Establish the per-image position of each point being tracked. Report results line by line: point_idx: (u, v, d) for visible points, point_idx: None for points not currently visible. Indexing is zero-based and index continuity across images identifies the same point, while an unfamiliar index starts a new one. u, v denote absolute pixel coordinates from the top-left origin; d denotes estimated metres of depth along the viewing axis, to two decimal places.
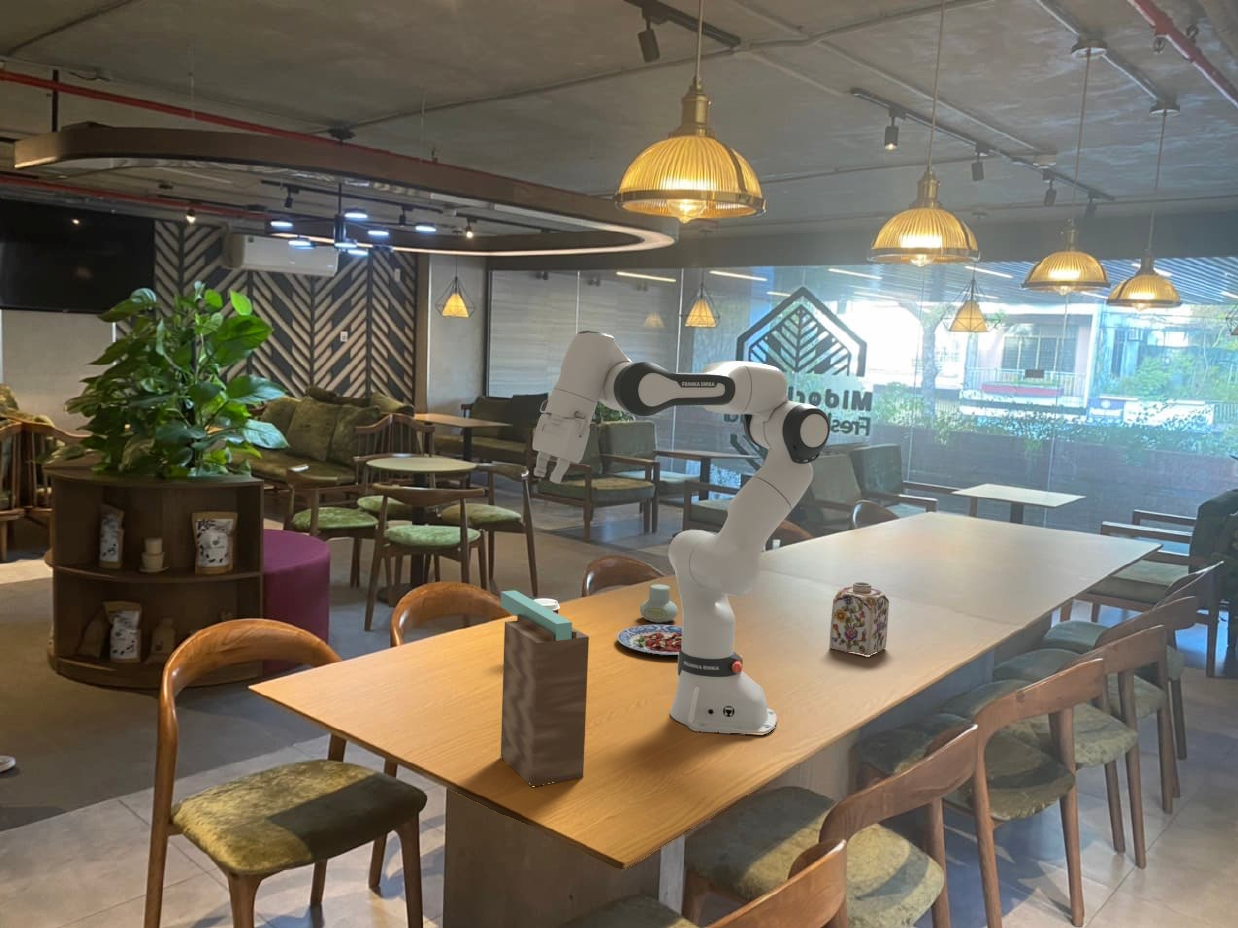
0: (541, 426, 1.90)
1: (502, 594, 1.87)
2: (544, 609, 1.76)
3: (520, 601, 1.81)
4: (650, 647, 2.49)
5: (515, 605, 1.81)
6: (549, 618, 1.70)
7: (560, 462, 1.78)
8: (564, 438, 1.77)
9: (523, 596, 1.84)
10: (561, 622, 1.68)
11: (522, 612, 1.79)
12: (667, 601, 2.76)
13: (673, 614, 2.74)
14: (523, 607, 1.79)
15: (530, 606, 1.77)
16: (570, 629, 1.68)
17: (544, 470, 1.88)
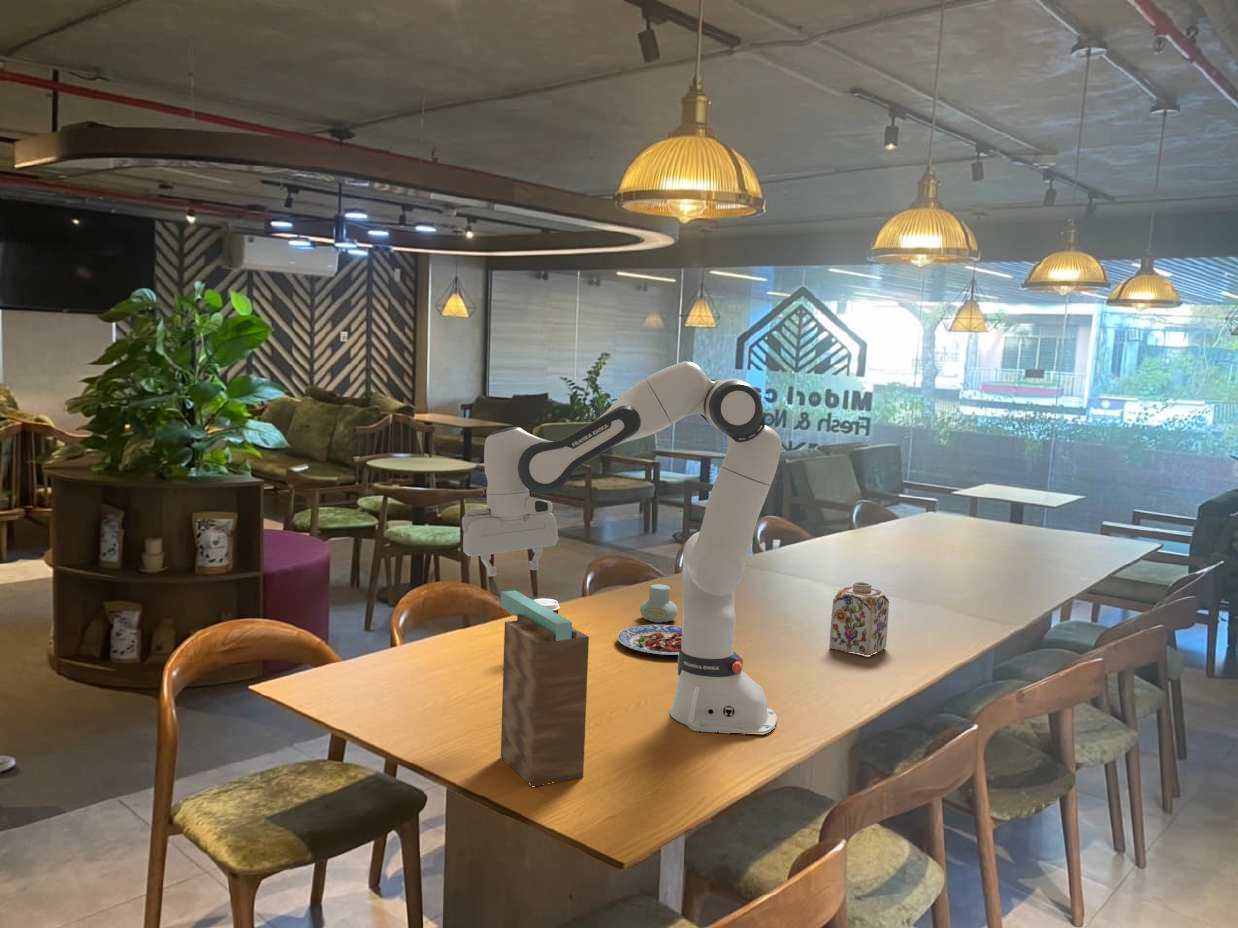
0: None
1: (502, 594, 1.87)
2: (544, 609, 1.76)
3: (520, 601, 1.81)
4: (650, 647, 2.49)
5: (515, 605, 1.81)
6: (549, 618, 1.70)
7: (481, 558, 1.97)
8: None
9: (523, 596, 1.84)
10: (561, 622, 1.68)
11: (522, 612, 1.79)
12: (667, 601, 2.76)
13: (673, 614, 2.74)
14: (523, 607, 1.79)
15: (530, 606, 1.77)
16: (570, 629, 1.68)
17: (531, 563, 2.02)
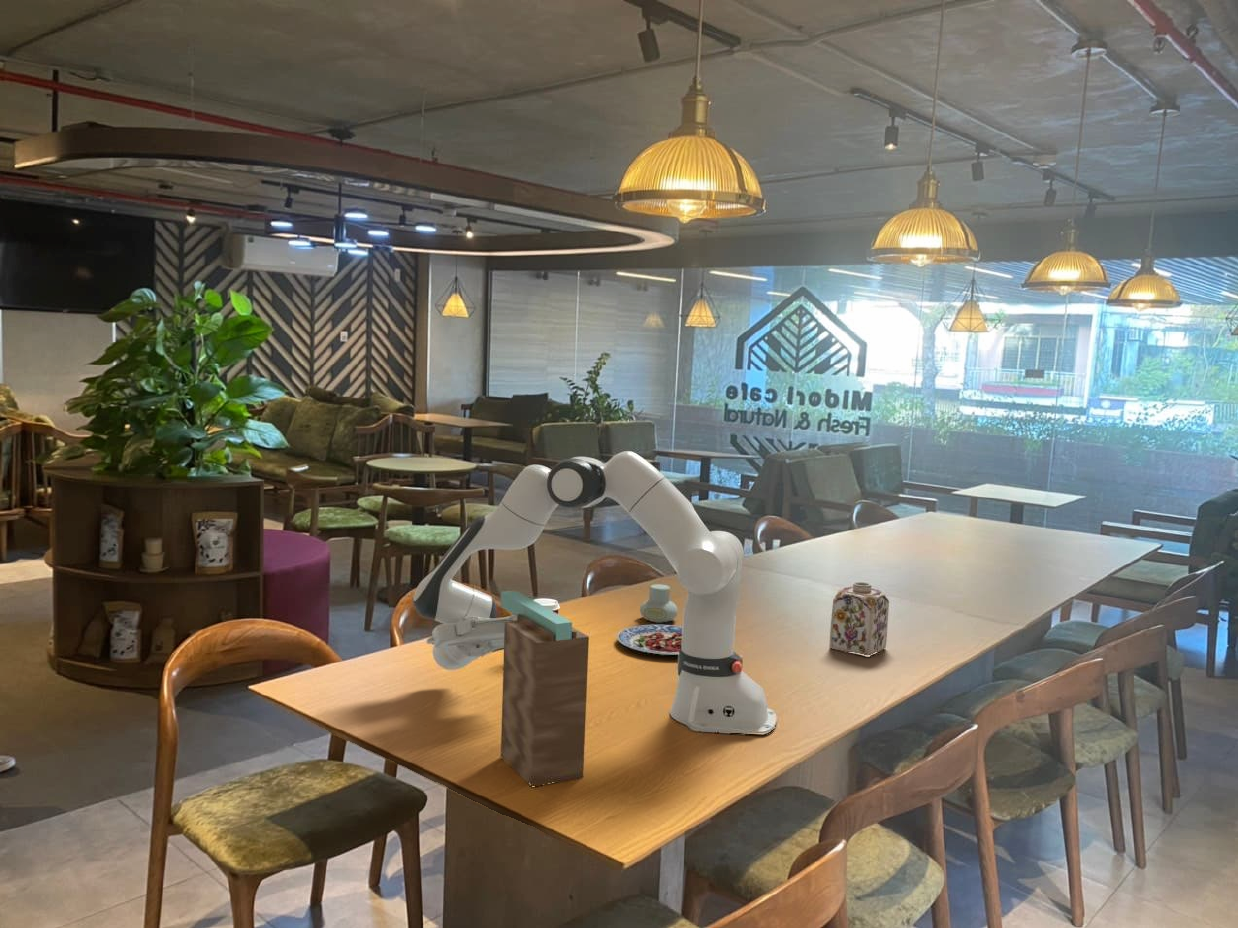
0: None
1: (502, 594, 1.87)
2: (544, 609, 1.76)
3: (520, 601, 1.81)
4: (650, 647, 2.49)
5: (515, 605, 1.81)
6: (549, 618, 1.70)
7: (457, 633, 1.94)
8: (449, 643, 1.97)
9: (523, 596, 1.84)
10: (561, 622, 1.68)
11: (522, 612, 1.79)
12: (667, 601, 2.76)
13: (673, 614, 2.74)
14: (523, 607, 1.79)
15: (530, 606, 1.77)
16: (570, 629, 1.68)
17: (509, 619, 1.98)
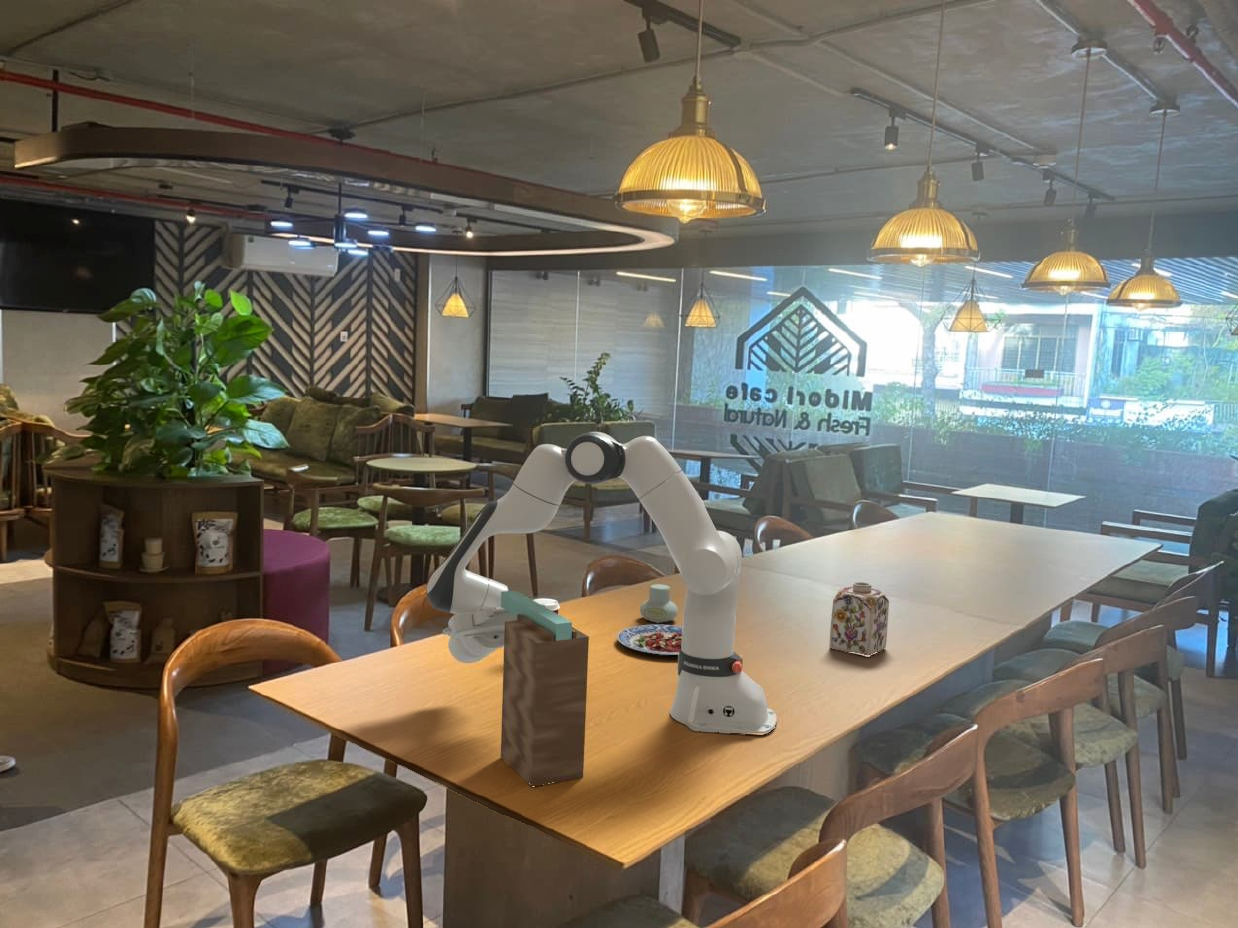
0: None
1: (502, 594, 1.87)
2: (544, 609, 1.76)
3: (520, 601, 1.81)
4: (650, 647, 2.49)
5: (515, 605, 1.81)
6: (549, 618, 1.70)
7: (475, 623, 1.86)
8: (466, 634, 1.89)
9: (523, 596, 1.84)
10: (561, 622, 1.68)
11: (522, 612, 1.79)
12: (667, 601, 2.76)
13: (673, 614, 2.74)
14: (523, 607, 1.79)
15: (530, 606, 1.77)
16: (570, 629, 1.68)
17: None
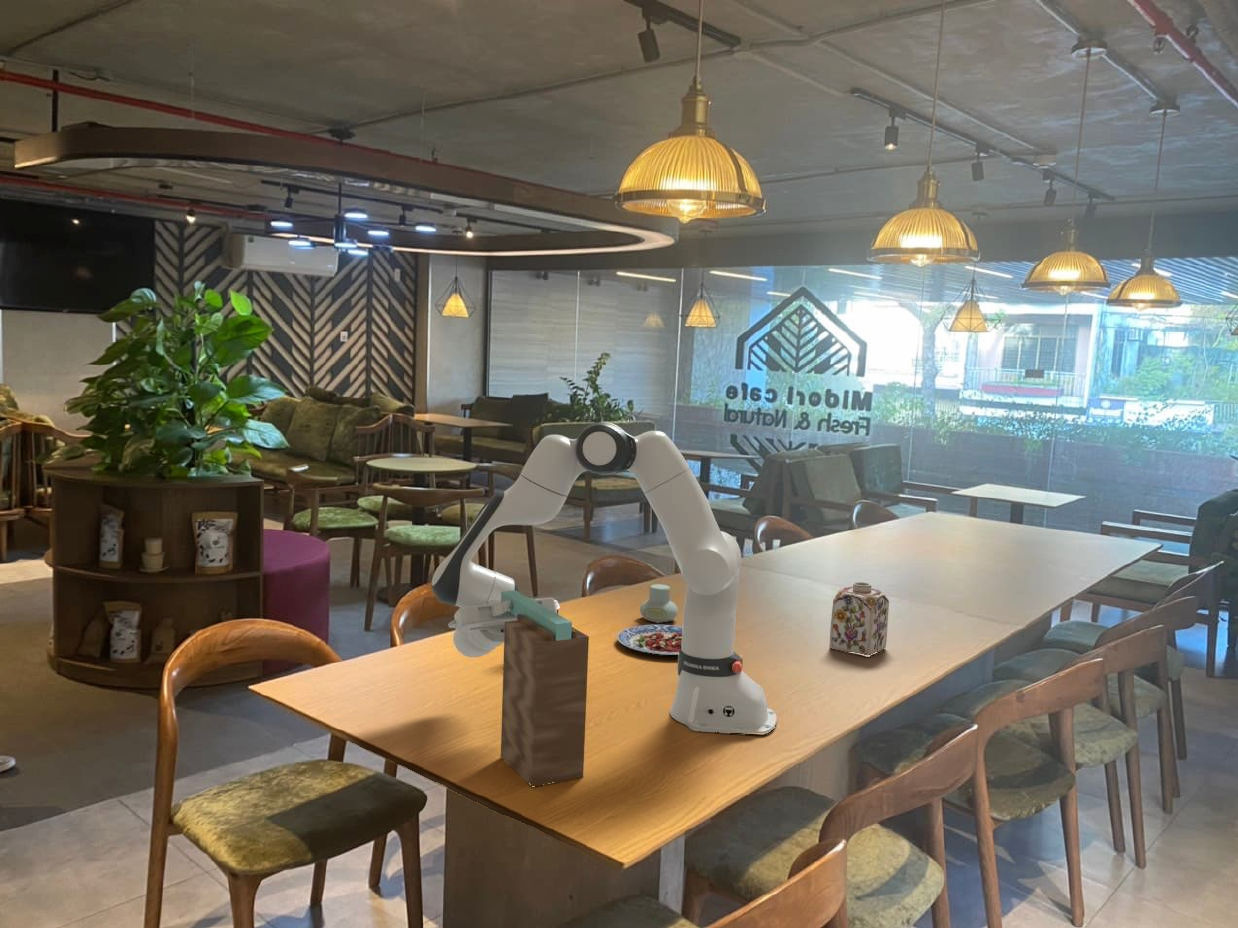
0: None
1: (502, 594, 1.87)
2: (544, 609, 1.76)
3: (520, 601, 1.81)
4: (650, 647, 2.49)
5: (515, 605, 1.81)
6: (549, 618, 1.70)
7: (494, 614, 1.84)
8: (472, 627, 1.86)
9: (523, 596, 1.84)
10: (561, 622, 1.68)
11: (522, 612, 1.79)
12: (667, 601, 2.76)
13: (673, 614, 2.74)
14: (523, 607, 1.79)
15: (530, 606, 1.77)
16: (570, 629, 1.68)
17: None
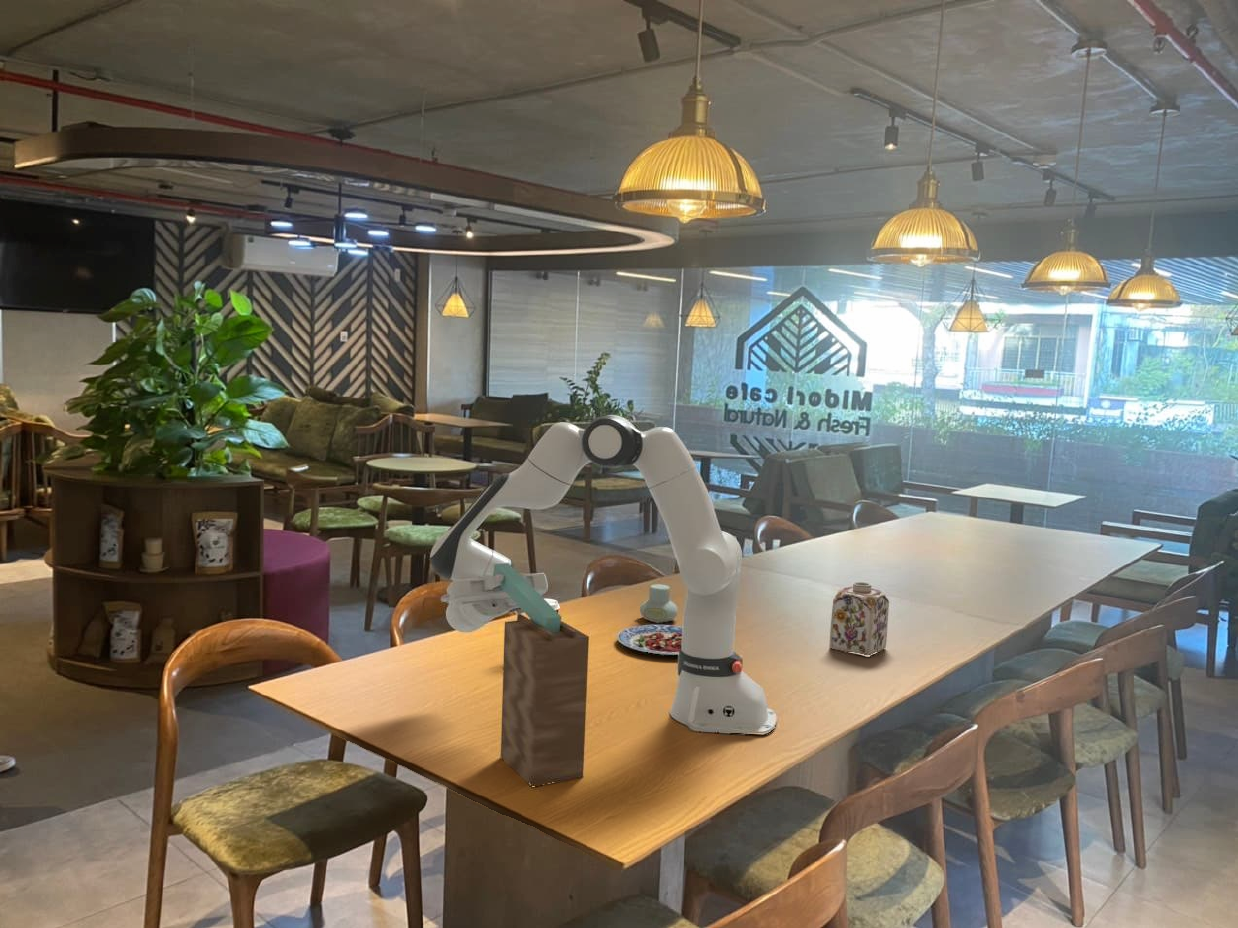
0: None
1: (495, 567, 1.89)
2: (535, 595, 1.79)
3: (512, 580, 1.83)
4: (650, 647, 2.49)
5: (507, 583, 1.84)
6: (539, 609, 1.73)
7: (486, 588, 1.87)
8: (464, 601, 1.89)
9: (515, 573, 1.87)
10: (551, 616, 1.71)
11: (514, 593, 1.82)
12: (667, 601, 2.76)
13: (673, 614, 2.74)
14: (514, 588, 1.82)
15: (522, 589, 1.80)
16: (559, 623, 1.72)
17: None
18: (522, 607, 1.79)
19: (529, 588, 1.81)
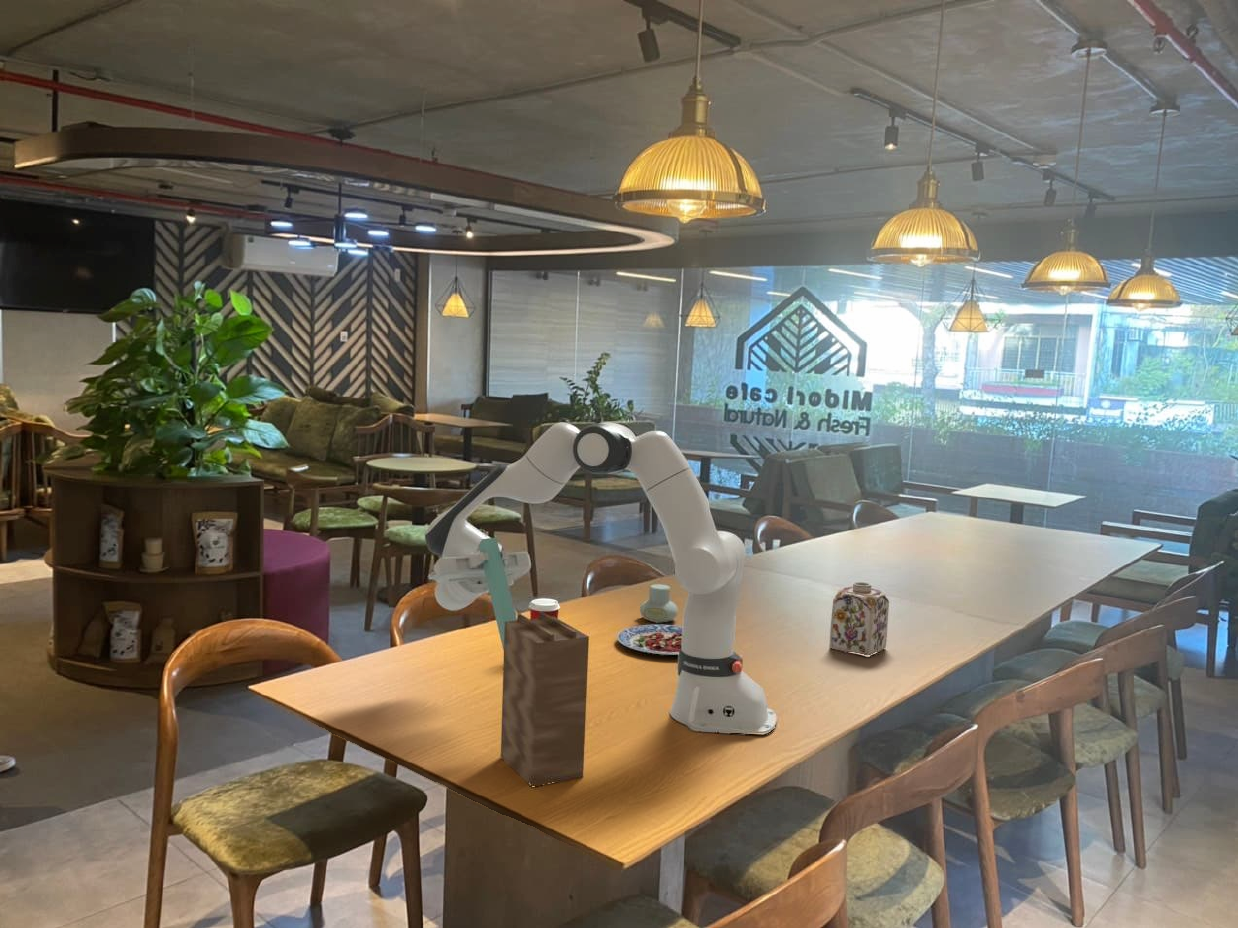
0: (513, 574, 2.06)
1: (482, 542, 1.97)
2: (509, 604, 1.91)
3: (493, 574, 1.93)
4: (650, 647, 2.49)
5: (488, 571, 1.94)
6: None
7: (470, 566, 1.96)
8: (450, 578, 1.97)
9: (499, 559, 1.96)
10: None
11: (491, 587, 1.93)
12: (667, 601, 2.76)
13: (673, 614, 2.74)
14: (493, 585, 1.92)
15: (499, 591, 1.92)
16: None
17: None
18: (494, 608, 1.92)
19: (506, 590, 1.92)
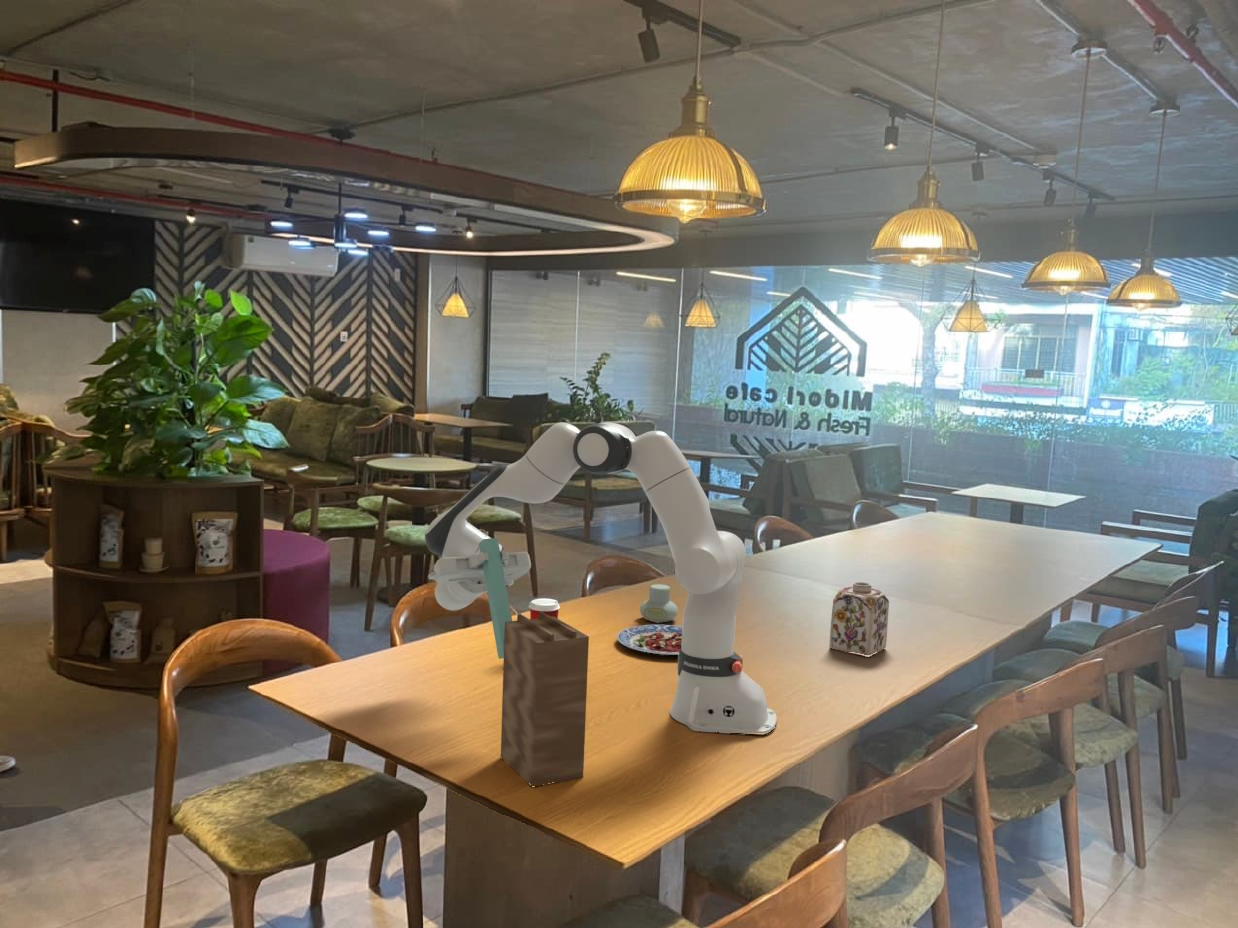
0: (513, 574, 2.06)
1: (483, 542, 1.96)
2: (506, 608, 1.93)
3: (492, 576, 1.94)
4: (650, 647, 2.49)
5: (487, 573, 1.95)
6: (502, 637, 1.90)
7: (470, 566, 1.96)
8: (450, 578, 1.97)
9: (499, 560, 1.96)
10: None
11: (489, 589, 1.94)
12: (667, 601, 2.76)
13: (673, 614, 2.74)
14: (491, 588, 1.93)
15: (496, 595, 1.93)
16: None
17: None
18: (491, 610, 1.94)
19: (503, 594, 1.93)
